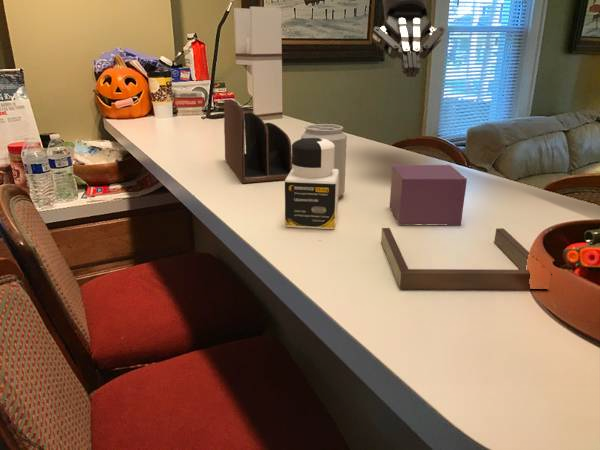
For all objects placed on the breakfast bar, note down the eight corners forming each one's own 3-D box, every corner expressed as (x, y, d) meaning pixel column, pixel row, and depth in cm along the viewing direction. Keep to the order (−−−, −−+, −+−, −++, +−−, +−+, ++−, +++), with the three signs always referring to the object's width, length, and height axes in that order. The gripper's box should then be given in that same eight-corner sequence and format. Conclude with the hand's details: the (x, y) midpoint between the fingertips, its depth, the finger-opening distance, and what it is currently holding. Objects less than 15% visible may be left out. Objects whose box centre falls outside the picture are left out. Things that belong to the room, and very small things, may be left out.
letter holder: (242, 184, 88) (238, 107, 83) (224, 160, 105) (221, 95, 100) (293, 179, 90) (292, 104, 85) (268, 157, 108) (266, 94, 103)
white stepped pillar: (265, 114, 172) (262, 9, 159) (282, 117, 164) (281, 8, 152) (238, 117, 166) (233, 8, 153) (255, 121, 158) (251, 6, 145)
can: (345, 202, 78) (348, 129, 73) (300, 202, 78) (300, 129, 73) (343, 189, 85) (345, 122, 80) (301, 189, 85) (301, 122, 80)
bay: (501, 242, 62) (503, 228, 62) (548, 290, 50) (552, 273, 50) (381, 241, 63) (381, 227, 62) (399, 289, 50) (401, 273, 50)
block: (445, 207, 76) (450, 164, 73) (460, 225, 68) (467, 178, 66) (389, 207, 76) (392, 164, 73) (398, 225, 68) (402, 178, 66)
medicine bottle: (284, 227, 67) (283, 144, 63) (292, 211, 74) (292, 134, 69) (334, 230, 66) (337, 145, 62) (337, 213, 73) (340, 135, 69)
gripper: (370, -19, 83) (376, 57, 76) (445, -19, 83) (458, 57, 76) (365, 16, 90) (370, 88, 83) (434, 16, 90) (445, 88, 83)
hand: (412, 73), depth 79 cm, fingers closed
